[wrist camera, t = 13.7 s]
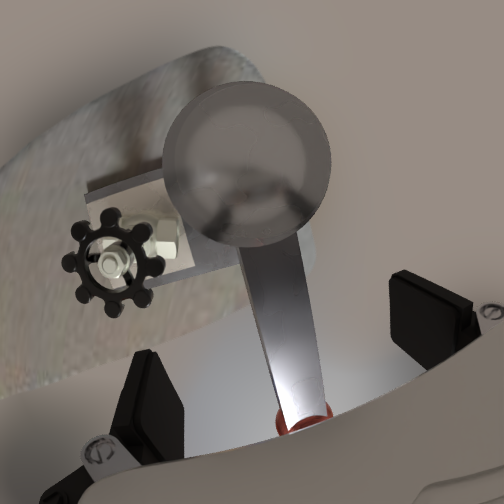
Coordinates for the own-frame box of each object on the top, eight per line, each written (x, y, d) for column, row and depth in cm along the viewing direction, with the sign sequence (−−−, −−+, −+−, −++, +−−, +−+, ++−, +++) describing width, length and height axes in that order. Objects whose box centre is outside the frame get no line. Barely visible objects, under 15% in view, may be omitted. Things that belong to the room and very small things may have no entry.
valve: (114, 198, 26) (58, 208, 14) (181, 199, 27) (165, 209, 15) (114, 264, 27) (67, 314, 15) (178, 267, 28) (165, 322, 17)
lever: (157, 120, 8) (143, 99, 6) (288, 92, 9) (313, 67, 6) (254, 433, 12) (265, 471, 9) (343, 403, 12) (364, 435, 10)
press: (119, 293, 29) (22, 459, 7) (88, 194, 26) (-94, 227, 4) (254, 255, 30) (366, 405, 9) (228, 151, 28) (310, 51, 6)
